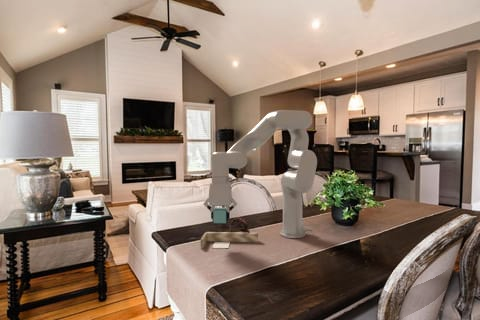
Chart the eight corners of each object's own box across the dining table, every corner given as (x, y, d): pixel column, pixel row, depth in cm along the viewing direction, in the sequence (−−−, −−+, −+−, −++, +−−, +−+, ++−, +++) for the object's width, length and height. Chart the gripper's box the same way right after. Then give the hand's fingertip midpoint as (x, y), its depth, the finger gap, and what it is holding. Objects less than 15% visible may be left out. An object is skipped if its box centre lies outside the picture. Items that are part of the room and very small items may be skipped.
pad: (229, 242, 126) (229, 242, 126) (228, 248, 119) (228, 247, 119) (214, 242, 126) (214, 241, 126) (212, 248, 119) (212, 247, 119)
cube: (227, 219, 124) (227, 207, 124) (225, 223, 119) (225, 210, 119) (215, 219, 125) (215, 207, 124) (213, 223, 119) (213, 210, 119)
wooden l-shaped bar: (258, 241, 128) (258, 232, 127) (258, 249, 118) (258, 240, 117) (205, 240, 129) (205, 232, 129) (200, 248, 119) (200, 239, 119)
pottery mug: (250, 235, 137) (242, 222, 135) (234, 243, 138) (226, 230, 136) (250, 222, 148) (243, 210, 146) (235, 229, 150) (227, 217, 148)
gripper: (240, 179, 124) (240, 218, 125) (202, 178, 125) (203, 217, 126) (239, 181, 116) (239, 223, 118) (199, 181, 118) (199, 222, 119)
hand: (220, 220), depth 122 cm, fingers closed on cube, 5 cm apart
